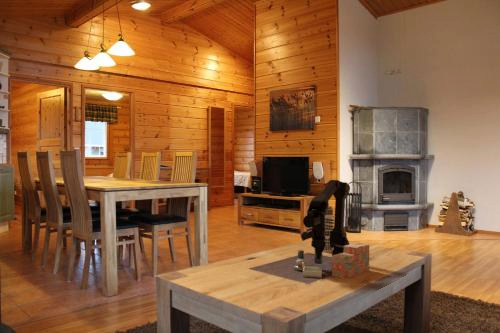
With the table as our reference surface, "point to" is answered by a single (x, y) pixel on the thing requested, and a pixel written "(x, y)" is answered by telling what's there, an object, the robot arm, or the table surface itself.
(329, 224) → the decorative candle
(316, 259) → the dark metal cylinder
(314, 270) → the tray
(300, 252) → the crank
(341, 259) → the stack of blocks
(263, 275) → the table surface
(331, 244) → the robot arm
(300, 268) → the crank base
